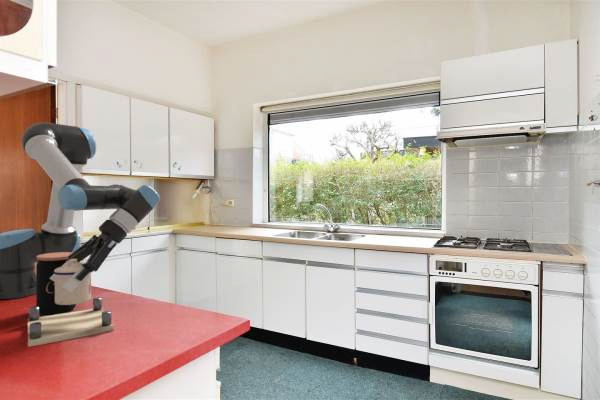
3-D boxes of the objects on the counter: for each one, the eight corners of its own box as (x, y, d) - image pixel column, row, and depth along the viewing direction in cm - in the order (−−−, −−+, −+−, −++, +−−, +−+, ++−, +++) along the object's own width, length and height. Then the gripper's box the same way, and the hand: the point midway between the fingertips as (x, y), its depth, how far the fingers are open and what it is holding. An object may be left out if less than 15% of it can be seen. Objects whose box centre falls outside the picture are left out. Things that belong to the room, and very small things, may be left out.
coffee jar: (43, 318, 110) (43, 259, 109) (31, 311, 116) (31, 254, 116) (82, 310, 118) (82, 254, 118) (68, 303, 125) (68, 251, 124)
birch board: (27, 324, 105) (27, 319, 105) (102, 312, 117) (102, 307, 117) (27, 347, 90) (28, 340, 90) (113, 330, 101) (113, 325, 101)
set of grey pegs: (29, 319, 105) (29, 307, 105) (101, 307, 116) (101, 296, 116) (29, 340, 90) (29, 326, 90) (112, 325, 101) (112, 312, 101)
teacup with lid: (98, 299, 103) (98, 258, 103) (62, 307, 96) (62, 263, 96) (78, 293, 110) (78, 254, 110) (43, 300, 103) (43, 258, 103)
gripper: (143, 238, 106) (84, 301, 95) (112, 231, 122) (58, 285, 111) (124, 220, 102) (61, 285, 91) (94, 216, 118) (37, 270, 107)
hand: (59, 285), depth 101 cm, fingers closed on teacup with lid, 12 cm apart
